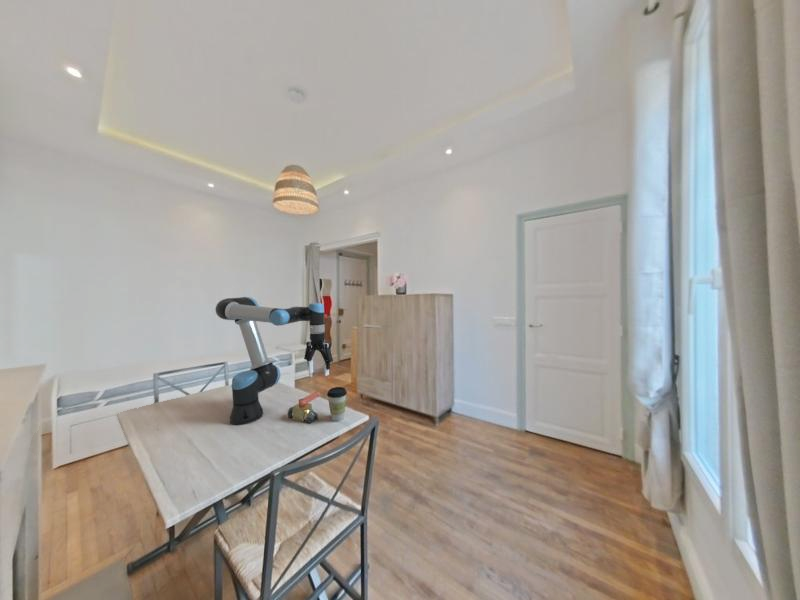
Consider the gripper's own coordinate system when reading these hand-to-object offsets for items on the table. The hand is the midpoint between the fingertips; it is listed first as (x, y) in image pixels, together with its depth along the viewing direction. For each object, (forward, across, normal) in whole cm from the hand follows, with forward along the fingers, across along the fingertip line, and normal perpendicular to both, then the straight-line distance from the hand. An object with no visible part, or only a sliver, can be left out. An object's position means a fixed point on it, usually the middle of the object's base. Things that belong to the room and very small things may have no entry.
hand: (318, 374), depth 144 cm
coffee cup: (+22, +12, 0) cm, 25 cm away
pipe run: (+22, -5, -8) cm, 24 cm away
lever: (+14, -5, -2) cm, 15 cm away
